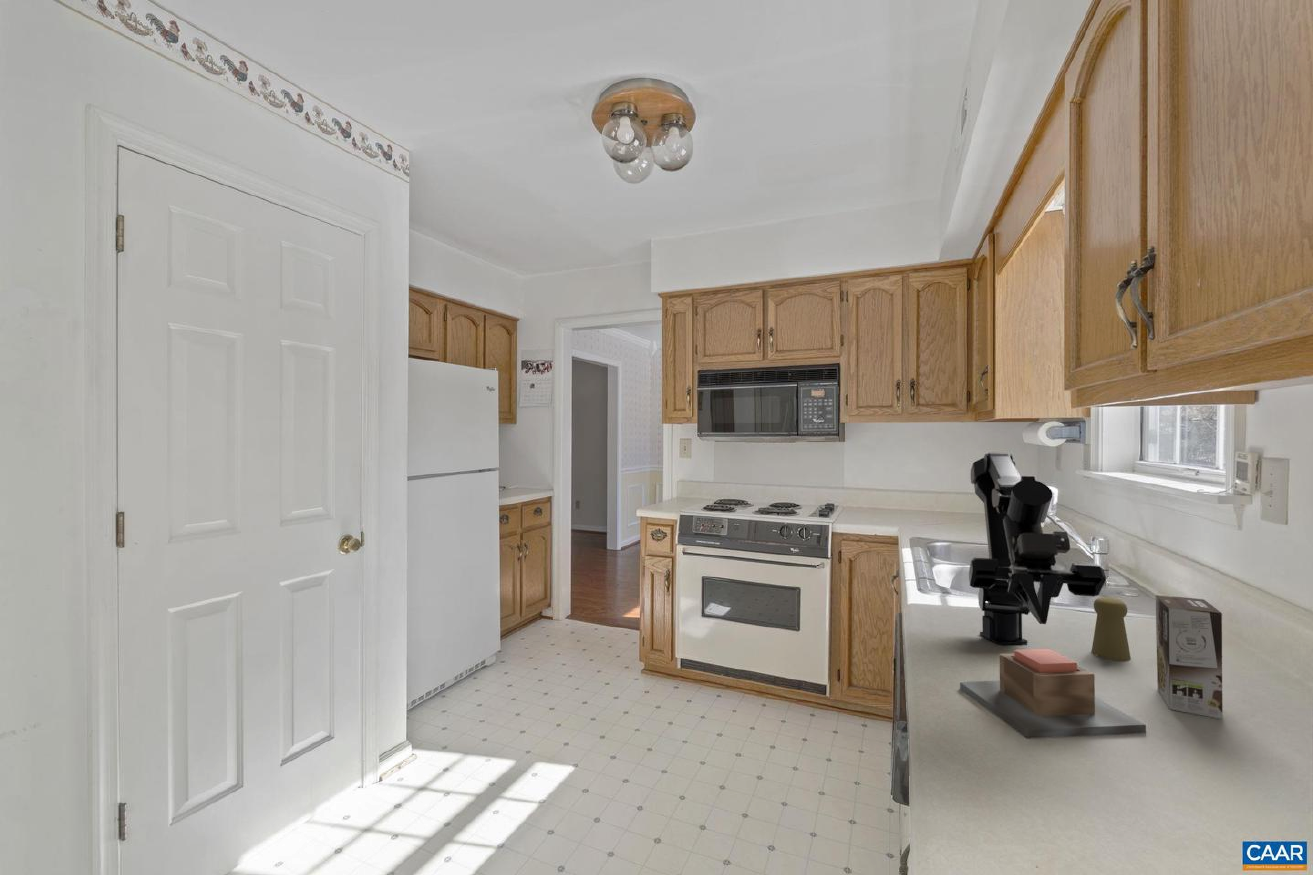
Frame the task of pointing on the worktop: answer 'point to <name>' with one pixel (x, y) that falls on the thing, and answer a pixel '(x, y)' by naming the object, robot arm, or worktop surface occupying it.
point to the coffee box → (1189, 655)
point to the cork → (1110, 630)
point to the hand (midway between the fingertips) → (1043, 622)
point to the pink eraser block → (1045, 660)
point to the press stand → (1049, 702)
